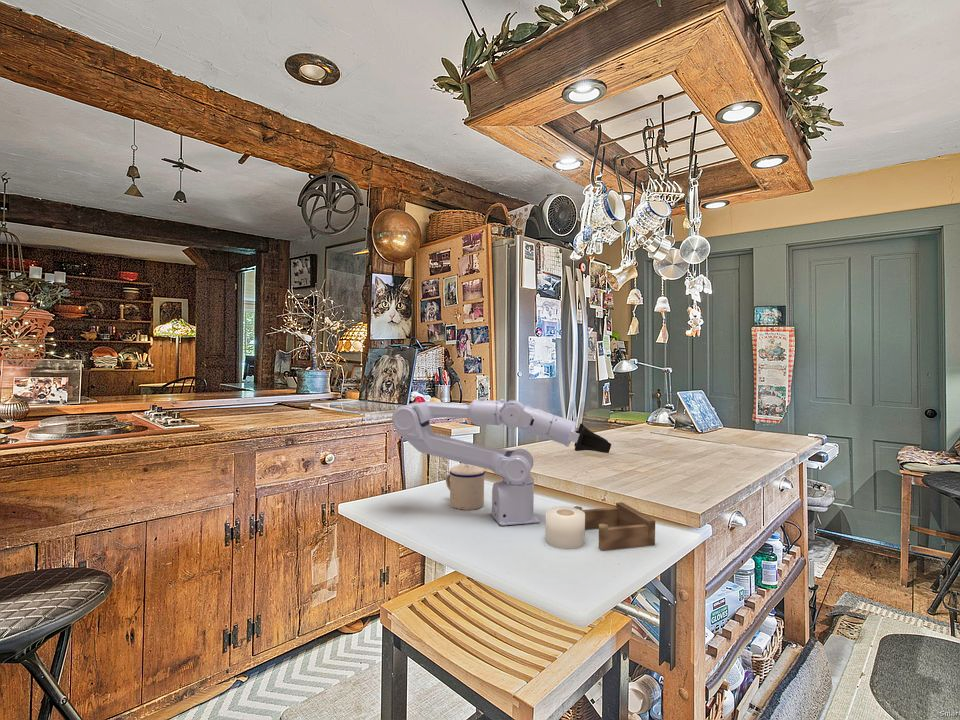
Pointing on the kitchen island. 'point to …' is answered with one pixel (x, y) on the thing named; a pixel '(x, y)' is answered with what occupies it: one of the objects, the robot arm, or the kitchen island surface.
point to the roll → (565, 527)
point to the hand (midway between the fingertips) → (608, 446)
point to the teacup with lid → (466, 486)
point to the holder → (620, 527)
